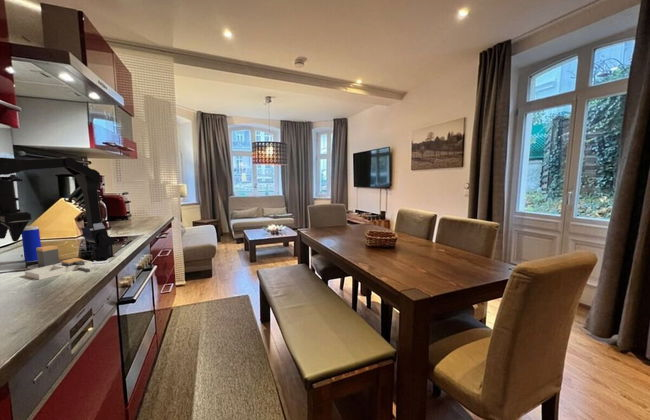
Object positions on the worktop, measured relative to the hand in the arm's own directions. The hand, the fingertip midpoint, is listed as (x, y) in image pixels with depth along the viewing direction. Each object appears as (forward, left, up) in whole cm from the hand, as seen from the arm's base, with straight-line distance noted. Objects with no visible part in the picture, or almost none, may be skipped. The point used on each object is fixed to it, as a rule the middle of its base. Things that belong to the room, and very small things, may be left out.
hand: (8, 239), depth 92 cm
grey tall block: (-12, -6, -14) cm, 20 cm away
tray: (-12, -6, -15) cm, 20 cm away
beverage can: (-14, -22, -15) cm, 30 cm away
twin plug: (-15, +8, -15) cm, 22 cm away
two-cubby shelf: (-11, +4, -15) cm, 19 cm away
